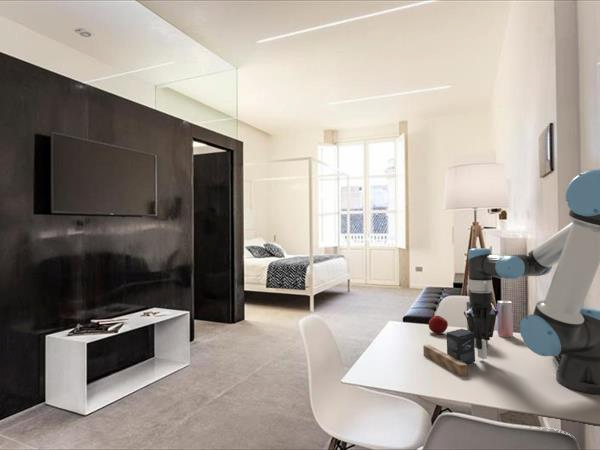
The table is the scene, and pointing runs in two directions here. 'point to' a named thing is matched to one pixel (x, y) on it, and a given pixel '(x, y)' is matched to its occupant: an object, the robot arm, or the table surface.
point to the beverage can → (505, 318)
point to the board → (445, 360)
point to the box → (461, 345)
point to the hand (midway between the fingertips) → (482, 357)
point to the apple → (438, 324)
